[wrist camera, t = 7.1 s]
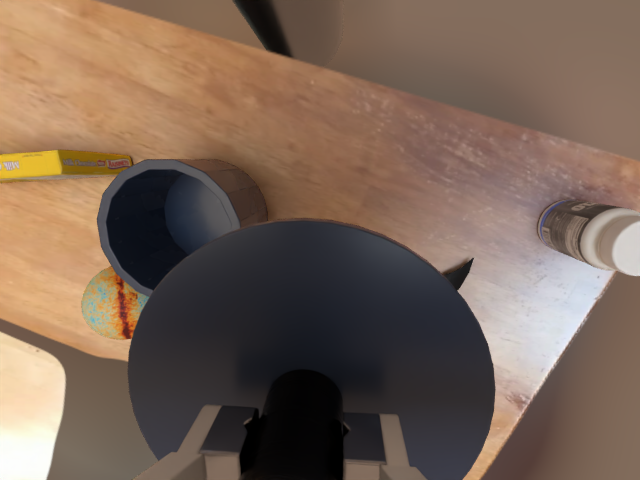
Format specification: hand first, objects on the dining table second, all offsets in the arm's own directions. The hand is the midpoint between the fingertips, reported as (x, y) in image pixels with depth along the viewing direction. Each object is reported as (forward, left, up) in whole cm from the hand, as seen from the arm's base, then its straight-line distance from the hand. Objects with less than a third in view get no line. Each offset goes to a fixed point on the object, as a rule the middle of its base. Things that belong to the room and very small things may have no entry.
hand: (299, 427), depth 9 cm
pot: (-2, -11, -23) cm, 26 cm away
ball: (+5, -19, -23) cm, 30 cm away
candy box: (-7, -27, -23) cm, 36 cm away
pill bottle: (-2, +21, -23) cm, 31 cm away
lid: (0, 0, -2) cm, 2 cm away
